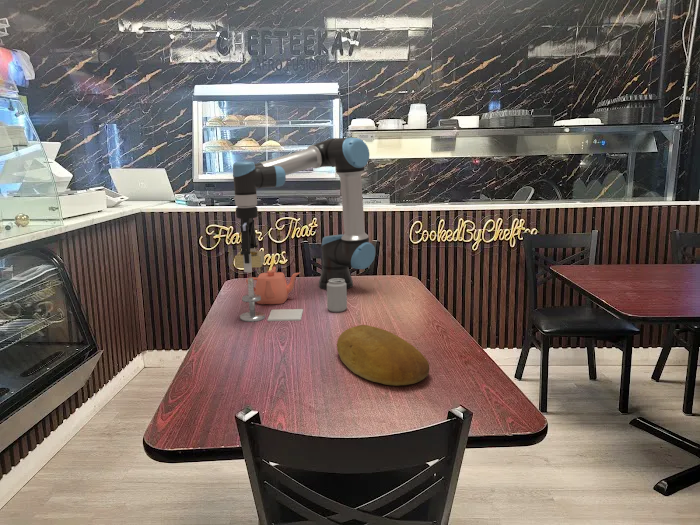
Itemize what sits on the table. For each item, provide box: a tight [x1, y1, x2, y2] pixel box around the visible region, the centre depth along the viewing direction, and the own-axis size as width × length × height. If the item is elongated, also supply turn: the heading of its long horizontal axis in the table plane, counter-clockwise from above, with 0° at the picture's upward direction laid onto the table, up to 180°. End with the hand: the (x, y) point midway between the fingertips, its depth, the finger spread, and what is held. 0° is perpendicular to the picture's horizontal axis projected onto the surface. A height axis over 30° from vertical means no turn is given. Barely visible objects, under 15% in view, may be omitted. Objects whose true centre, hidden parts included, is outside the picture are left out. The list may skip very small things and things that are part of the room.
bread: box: [336, 324, 430, 387], centre depth 149 cm, size 18×35×10 cm, turn 33°
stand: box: [239, 277, 266, 323], centre depth 192 cm, size 9×9×15 cm
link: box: [234, 250, 266, 269], centre depth 189 cm, size 9×9×4 cm
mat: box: [267, 308, 304, 322], centre depth 196 cm, size 12×12×1 cm
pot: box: [245, 266, 301, 305], centre depth 215 cm, size 18×17×12 cm
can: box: [326, 278, 348, 313], centre depth 200 cm, size 8×8×12 cm
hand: (250, 268), depth 190 cm, fingers closed on link, 9 cm apart
